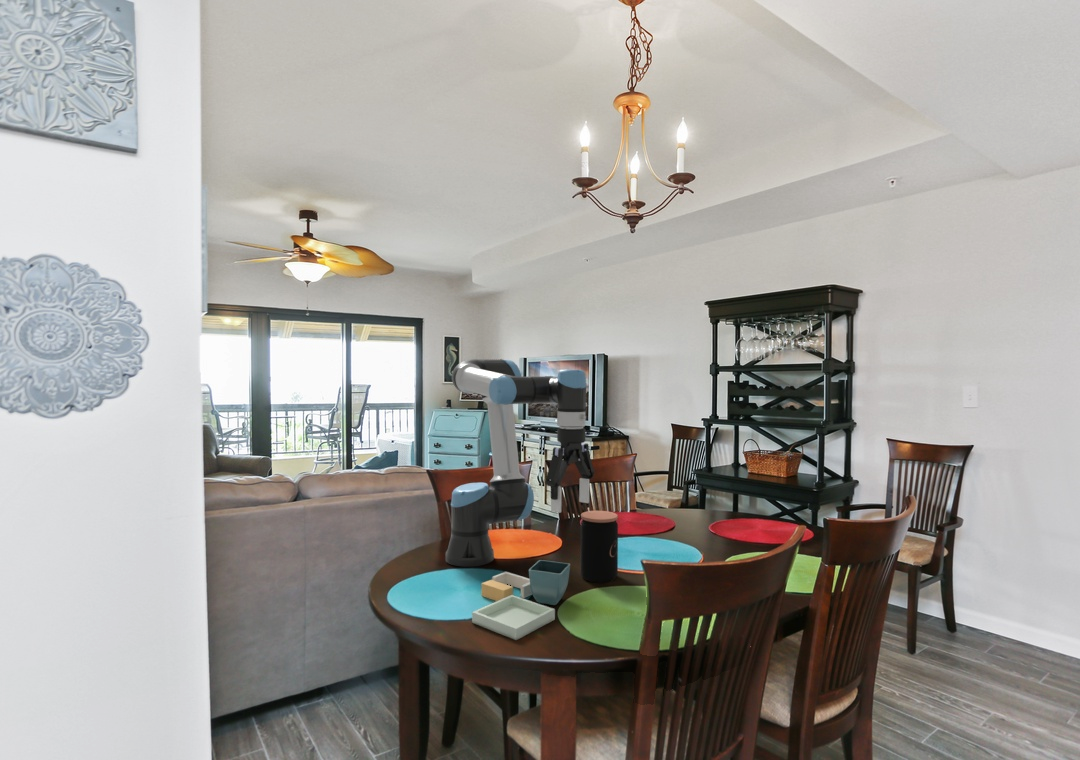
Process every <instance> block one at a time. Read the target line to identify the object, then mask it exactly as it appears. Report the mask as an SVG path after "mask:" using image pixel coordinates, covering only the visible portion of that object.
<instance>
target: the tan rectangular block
mask: <svg viewBox="0 0 1080 760" xmlns="http://www.w3.org/2000/svg"><path fill="white" fill-rule="evenodd" d="M480 586H481V590H480V591H481V592H480V593H481V597H484V598H487V599H490V600H492V601H495V602H496V601H499V600H501V599H503V598H506V597H508V596H510V595H514V587H513V586H510V585H507V584H503V583H500V582H496V581H493V580H492V579H489V580H486V581H484V582H481V585H480Z"/></svg>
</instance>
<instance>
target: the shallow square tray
mask: <svg viewBox="0 0 1080 760" xmlns="http://www.w3.org/2000/svg"><path fill="white" fill-rule="evenodd" d="M555 618H556V609H555V608H553V607H549V606H547V605H544V604H542V603H538V602H534V601H532V600H529V599H526V598H521V596H520V597H519V596H517V595H514V594H513V595H510V596H508V597H506V598H503V599H501V600H499V601H495V602H492V603H490V604H488V605H486V606H482V607H481V608H479V609H476V610H474V611H472V612H471V623H472V624H474V625H477V626H479V627H481V628H484V629H487V630H489V631H492V632H493V633H494V632H495V633H497V634H500V635H501V636H505V637H507V638H509V639H512V640H514V641H517V640H519V639H521V638H523V637H525V636H526V635H527V636H528V635H529V634H531V633H532V632H534V631H536V630H538V629H540V628H542V627H544V626H546V625H548V624H549V623H551V622H552V621H553V622H554V621H555V620H556V619H555Z"/></svg>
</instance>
